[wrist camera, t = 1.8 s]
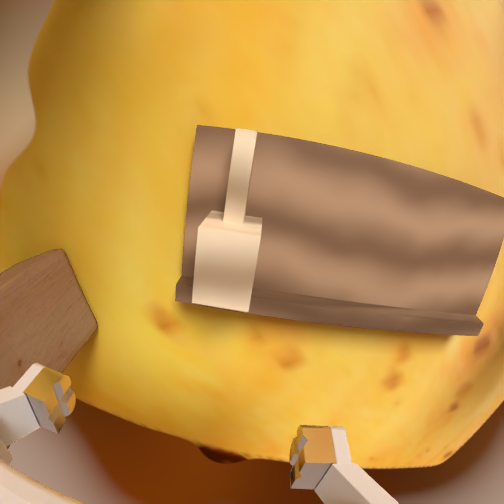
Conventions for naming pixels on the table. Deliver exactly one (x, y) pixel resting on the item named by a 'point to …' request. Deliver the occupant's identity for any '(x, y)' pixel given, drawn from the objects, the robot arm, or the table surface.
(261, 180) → the board
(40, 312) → the wooden block
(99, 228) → the table surface
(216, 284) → the cream block with bar
